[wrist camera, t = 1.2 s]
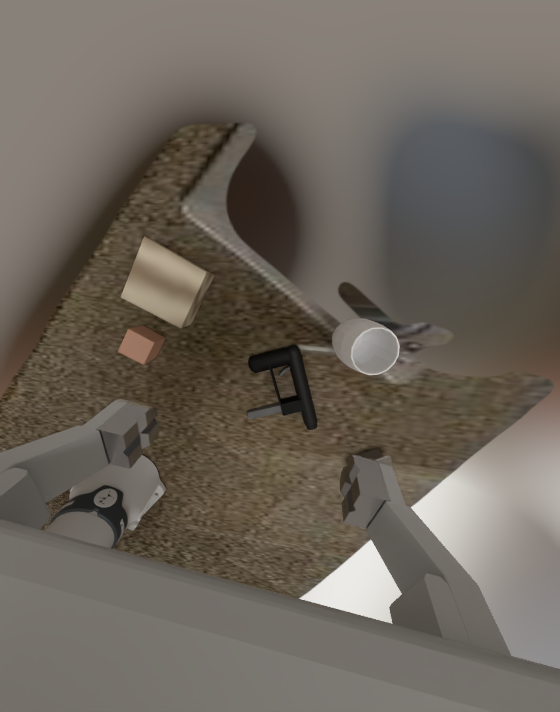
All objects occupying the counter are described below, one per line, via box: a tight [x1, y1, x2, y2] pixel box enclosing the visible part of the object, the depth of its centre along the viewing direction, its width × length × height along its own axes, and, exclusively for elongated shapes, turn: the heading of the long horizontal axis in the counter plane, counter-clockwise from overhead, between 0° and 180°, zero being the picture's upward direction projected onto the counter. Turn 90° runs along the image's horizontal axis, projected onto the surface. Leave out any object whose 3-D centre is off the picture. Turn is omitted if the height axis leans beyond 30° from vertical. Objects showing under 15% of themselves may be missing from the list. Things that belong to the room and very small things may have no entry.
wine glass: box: [332, 319, 400, 375], centre depth 38 cm, size 7×7×21 cm
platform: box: [357, 448, 392, 464], centre depth 54 cm, size 12×18×7 cm, turn 110°
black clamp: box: [247, 345, 319, 430], centre depth 50 cm, size 3×20×16 cm
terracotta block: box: [118, 326, 166, 365], centre depth 44 cm, size 5×5×5 cm
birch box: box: [121, 237, 214, 328], centre depth 42 cm, size 11×11×6 cm
